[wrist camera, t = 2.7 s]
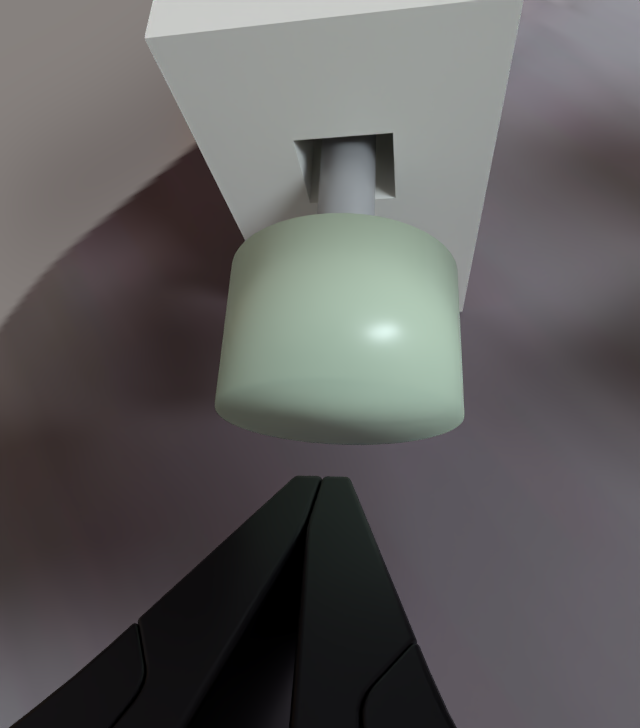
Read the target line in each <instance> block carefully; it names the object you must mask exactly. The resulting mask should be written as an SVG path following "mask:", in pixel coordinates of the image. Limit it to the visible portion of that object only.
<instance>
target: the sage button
mask: <svg viewBox="0 0 640 728" xmlns="http://www.w3.org/2000/svg"><path fill="white" fill-rule="evenodd" d="M375 175H376V134H372V135H359V136H346V137H333V138H322V146H321V162H320V178H319V194H318V211H317V214H314V215H307V216H302V217H296V218H292V219H288V220H285V221H281V222H278V223H276V224H273V225H271V226H268V227H266V228H264V229H262V230H260V231H258V232H257V233H255V234H253V235H252V236H251V237H250V238H248V239H247V240H246V241H245V242H244V243H243V244H242V245H241V246H240V247H239V248H238V250H237V252H236V253H235V255H234V258H233V262H232V268H231V276H230V284H229V292H228V300H227V308H226V317H225V325H224V333H223V341H222V349H221V357H220V365H219V373H218V382H217V390H216V398H215V410H216V412H217V413H218V414H219V415H220V416H221V417H222V418H223V419H225V420H226V421H228V422H230V423H231V424H233V425H236V426H238V427H241V428H243V429H246V430H249V431H252V432H256V433H259V434H263V435H268V436H272V437H277V438H283V439H288V440H295V441H303V442H311V443H323V444H342V445H373V444H391V443H401V442H409V441H415V440H421V439H426V438H430V437H434V436H438V435H441V434H444V433H446V432H449V431H451V430H453V429H454V428H456V427H458V426H459V425H460V424H461V423H462V421H463V420H464V398H463V376H462V354H461V333H460V311H459V289H458V269H457V265H456V261H455V260H454V258H453V256H452V254H451V253H450V251H449V250H448V249H447V248H446V247H445V246H444V245H443V244H442V243H441V242H440V241H438V240H437V239H436V238H434V237H433V236H431V235H430V234H428V233H426V232H425V231H422V230H420V229H418V228H416V227H414V226H411V225H408V224H406V223H403V222H400V221H397V220H392V219H388V218H384V217H379V216H375Z"/></svg>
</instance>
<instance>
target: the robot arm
mask: <svg viewBox="0 0 640 728" xmlns="http://www.w3.org/2000/svg"><path fill="white" fill-rule="evenodd" d="M9 728H457V727H456V726H455V724H454V722H453V720H452V718H451V716H450V714H449V712H448V710H447V708H446V706H445V704H444V701H443V699H442V697H441V695H440V693H439V690H438V688H437V686H436V684H435V682H434V679H433V677H432V675H431V673H430V671H429V668H428V666H427V663H426V661H425V658H424V656H423V654H422V651H421V649H420V646H419V645H418V644H417V640H416V637H415V635H414V633H413V630H412V628H411V625H410V623H409V620H408V618H407V616H406V613H405V611H404V608H403V606H402V604H401V601H400V599H399V596H398V594H397V591H396V589H395V587H394V584H393V582H392V579H391V577H390V574H389V572H388V570H387V567H386V565H385V562H384V560H383V557H382V555H381V553H380V550H379V548H378V545H377V543H376V540H375V538H374V536H373V533H372V531H371V528H370V526H369V523H368V521H367V519H366V516H365V514H364V511H363V509H362V506H361V504H360V502H359V499H358V497H357V494H356V492H355V489H354V487H353V485H352V482H351V480H350V479H349V478H348V477H330V476H327V477H324V478H323V479H321V478H320V477H319V476H296V477H294V478H293V479H291V480H290V481H289V482H288V483H287V484H286V485H285V486H284V487H283V488H282V489H281V490H279V491H278V492H277V493H276V494H275V495H274V496H273V497H272V498H271V499H270V500H268V501H267V502H266V503H265V504H264V505H263V506H262V507H261V508H260V509H259V510H257V511H256V512H255V513H254V514H253V515H252V516H251V517H250V518H249V519H248V520H246V521H245V522H244V523H243V524H242V525H241V526H240V527H239V528H238V529H237V530H236V531H234V532H233V533H232V534H231V535H230V536H229V537H228V538H227V539H226V540H225V541H223V542H222V543H221V544H220V545H219V546H218V547H217V548H216V549H215V550H214V551H212V552H211V553H210V554H209V555H208V556H207V557H206V558H205V559H204V560H203V561H202V562H200V563H199V564H198V565H197V566H196V567H195V568H194V569H193V570H192V571H191V572H189V573H188V574H187V575H186V576H185V577H184V578H183V579H182V580H181V581H180V582H178V583H177V584H176V585H175V586H174V587H173V588H172V589H171V590H170V591H169V592H167V593H166V594H165V595H164V596H163V597H162V598H161V599H160V600H159V601H158V602H157V603H155V604H154V605H153V606H152V607H151V608H150V609H149V610H148V611H147V612H146V613H144V614H143V615H142V616H141V617H140V618H139V619H138V624H136V623H134V624H132V625H131V626H130V627H129V628H128V629H127V630H125V631H124V632H123V633H122V634H121V635H120V636H119V637H118V638H117V639H116V640H114V641H113V642H112V643H111V644H110V645H109V646H108V647H107V648H105V649H104V650H103V651H102V652H101V653H100V654H99V655H97V656H96V657H95V658H94V659H93V660H92V661H91V662H89V663H88V664H87V665H86V666H85V667H84V668H83V669H81V670H80V671H79V672H78V673H77V674H76V675H74V676H73V677H72V678H71V679H70V680H68V681H67V682H66V683H65V684H63V685H62V686H61V687H60V688H58V689H57V690H56V691H55V692H53V693H52V694H51V695H50V696H48V697H47V698H46V699H45V700H43V701H42V702H41V703H40V704H38V705H37V706H36V707H35V708H34V709H32V710H31V711H30V712H29V713H27V714H26V715H25V716H23V717H22V718H21V719H19V720H18V721H17V722H16V723H14V724H13V725H12V726H10V727H9Z"/></svg>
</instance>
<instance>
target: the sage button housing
mask: <svg viewBox="0 0 640 728" xmlns="http://www.w3.org/2000/svg"><path fill="white" fill-rule="evenodd" d="M523 1H524V0H153V3H152V8H151V12H150V17H149V21H148V25H147V30H146V34H145V40H146V42H147V44H148V46H149V48H150V50H151V52H152V54H153V56H154V58H155V60H156V62H157V64H158V66H159V68H160V70H161V72H162V74H163V76H164V79H165V80H166V82H167V85H168V86H169V89H170V90H171V93H172V94H173V97H174V98H175V101H176V102H177V104H178V107H179V109H180V110H181V113H182V115H183V117H184V119H185V120H186V123H187V124H188V127H189V129H190V131H191V133H192V135H193V137H194V139H195V141H196V143H197V145H198V147H199V149H200V151H201V153H202V155H203V157H204V159H205V161H206V163H207V165H208V167H209V169H210V171H211V173H212V175H213V177H214V179H215V181H216V183H217V185H218V187H219V189H220V191H221V193H222V195H223V197H224V199H225V201H226V203H227V205H228V207H229V209H230V211H231V213H232V215H233V217H234V219H235V221H236V223H237V225H238V227H239V229H240V231H241V233H242V235H243V237H244V239H245V241H246V240H247V239H248V238H250V237H251V236H252V235H253V234H255V233H257V232H258V231H260V230H262V229H264V228H266V227H268V226H271V225H273V224H276V223H278V222H281V221H285V220H288V219H292V218H296V217H302V216H307V215H314V214H317V211H318V194H319V178H320V162H321V146H322V138H333V137H346V136H359V135H372V134H376V175H375V216H379V217H384V218H388V219H392V220H397V221H400V222H403V223H406V224H408V225H411V226H414V227H416V228H418V229H420V230H422V231H425V232H426V233H428V234H430V235H431V236H433V237H434V238H436V239H437V240H438V241H440V242H441V243H442V244H443V245H444V246H445V247H446V248H447V249H448V250H449V251H450V253H451V254H452V256H453V258H454V260H455V261H456V265H457V269H458V289H459V311H460V312H462V311H463V306H464V300H465V295H466V290H467V285H468V280H469V275H470V270H471V265H472V260H473V255H474V250H475V245H476V240H477V235H478V229H479V224H480V219H481V214H482V209H483V204H484V199H485V194H486V189H487V184H488V179H489V174H490V169H491V164H492V158H493V153H494V148H495V143H496V138H497V133H498V128H499V123H500V118H501V113H502V108H503V103H504V98H505V93H506V87H507V82H508V77H509V72H510V67H511V62H512V57H513V52H514V47H515V42H516V37H517V32H518V27H519V22H520V16H521V11H522V6H523Z"/></svg>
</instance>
